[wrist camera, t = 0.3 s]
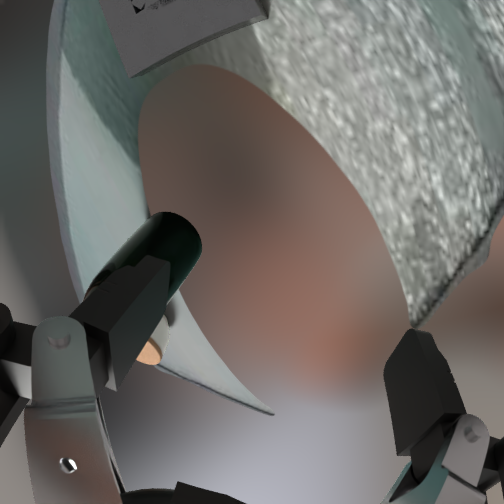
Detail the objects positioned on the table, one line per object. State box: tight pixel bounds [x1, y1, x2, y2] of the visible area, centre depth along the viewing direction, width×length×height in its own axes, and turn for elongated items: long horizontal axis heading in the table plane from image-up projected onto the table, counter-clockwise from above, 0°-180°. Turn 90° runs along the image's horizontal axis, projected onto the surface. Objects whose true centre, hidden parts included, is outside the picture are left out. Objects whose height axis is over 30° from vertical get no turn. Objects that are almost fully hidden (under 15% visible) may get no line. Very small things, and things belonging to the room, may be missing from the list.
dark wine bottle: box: [83, 212, 202, 306], centre depth 36 cm, size 10×10×33 cm
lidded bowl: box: [136, 315, 170, 365], centre depth 60 cm, size 13×13×11 cm
